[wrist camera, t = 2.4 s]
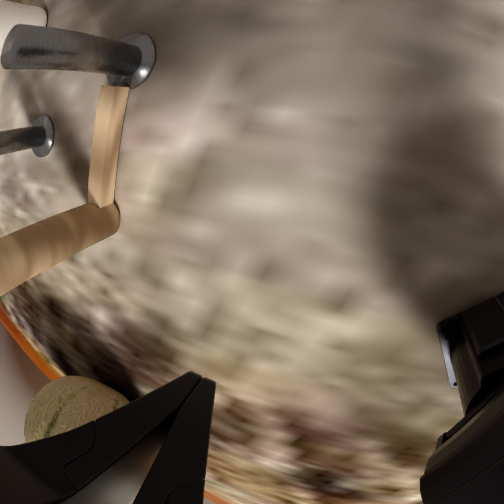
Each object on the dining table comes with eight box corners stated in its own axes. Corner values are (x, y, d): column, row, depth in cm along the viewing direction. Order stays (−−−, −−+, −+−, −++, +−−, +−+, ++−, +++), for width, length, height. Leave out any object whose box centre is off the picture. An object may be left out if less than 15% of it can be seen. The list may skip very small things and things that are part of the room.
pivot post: (165, 62, 17) (42, 38, 8) (122, 101, 19) (1, 106, 10) (141, 21, 16) (28, -10, 7) (101, 60, 18) (-11, 53, 9)
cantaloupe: (114, 343, 28) (13, 439, 15) (193, 441, 31) (131, 540, 18) (59, 359, 35) (-13, 423, 21) (122, 436, 37) (67, 505, 24)
